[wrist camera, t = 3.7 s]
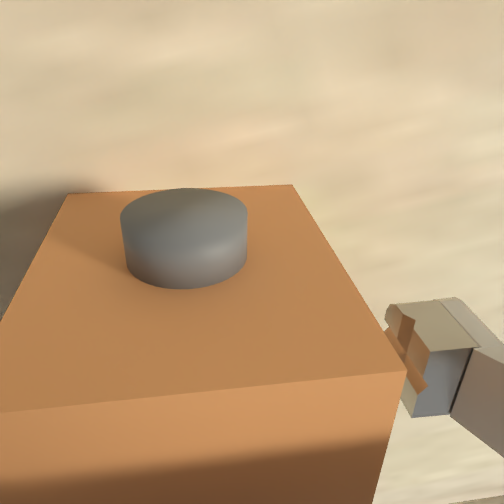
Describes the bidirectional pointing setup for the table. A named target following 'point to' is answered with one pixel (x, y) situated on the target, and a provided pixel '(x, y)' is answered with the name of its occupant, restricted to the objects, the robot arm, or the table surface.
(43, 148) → the table surface
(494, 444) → the robot arm
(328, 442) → the block
